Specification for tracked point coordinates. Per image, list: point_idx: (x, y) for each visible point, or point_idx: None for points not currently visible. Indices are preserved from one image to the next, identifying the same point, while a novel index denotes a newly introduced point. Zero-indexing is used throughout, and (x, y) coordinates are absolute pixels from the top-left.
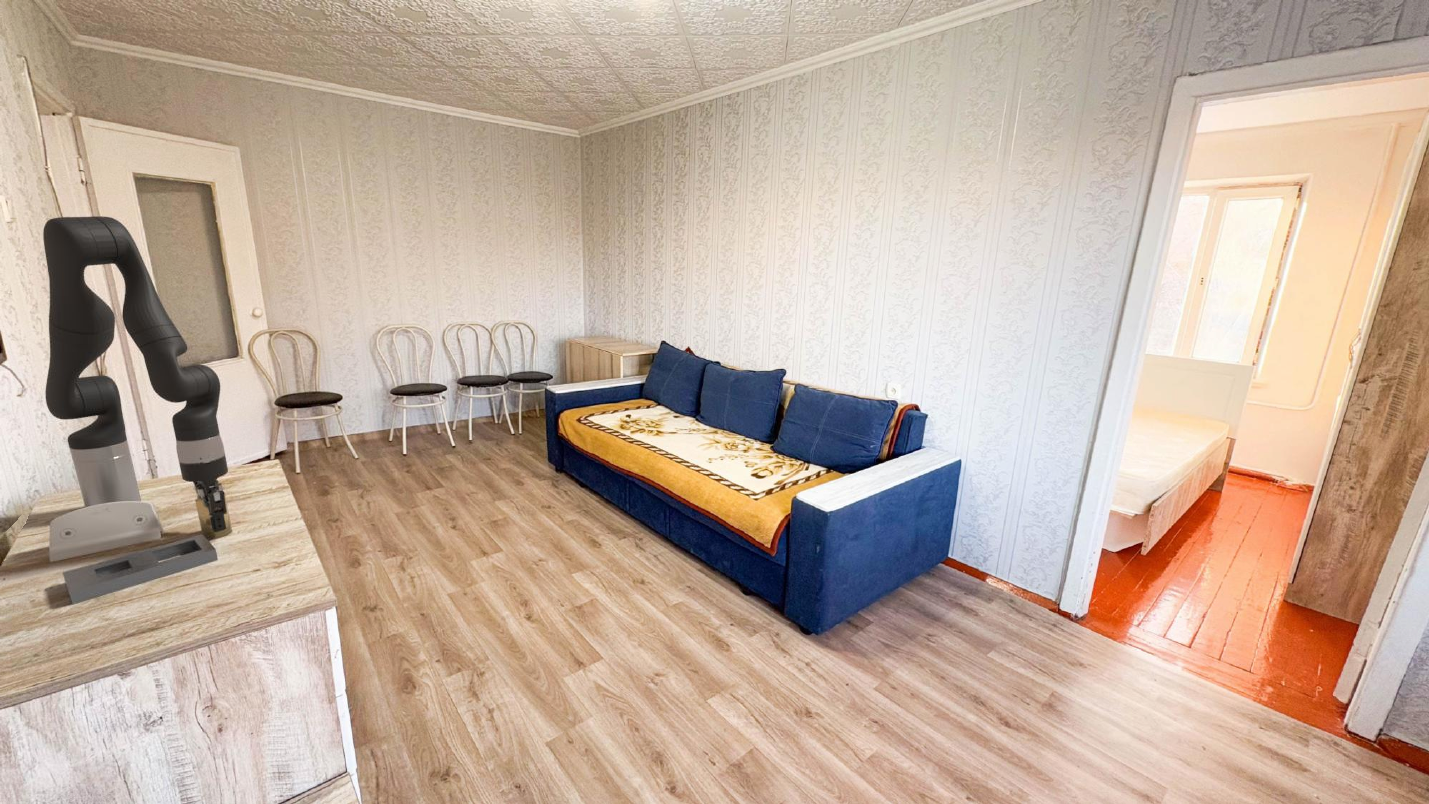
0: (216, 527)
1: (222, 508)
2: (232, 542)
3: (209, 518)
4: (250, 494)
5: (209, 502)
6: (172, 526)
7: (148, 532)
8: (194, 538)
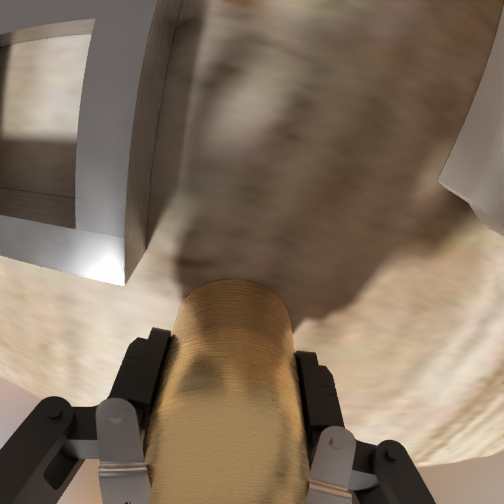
0: (127, 351)
1: (59, 460)
2: (87, 312)
3: (159, 391)
4: (447, 437)
5: (3, 489)
6: (494, 265)
7: (491, 164)
8: (94, 238)
